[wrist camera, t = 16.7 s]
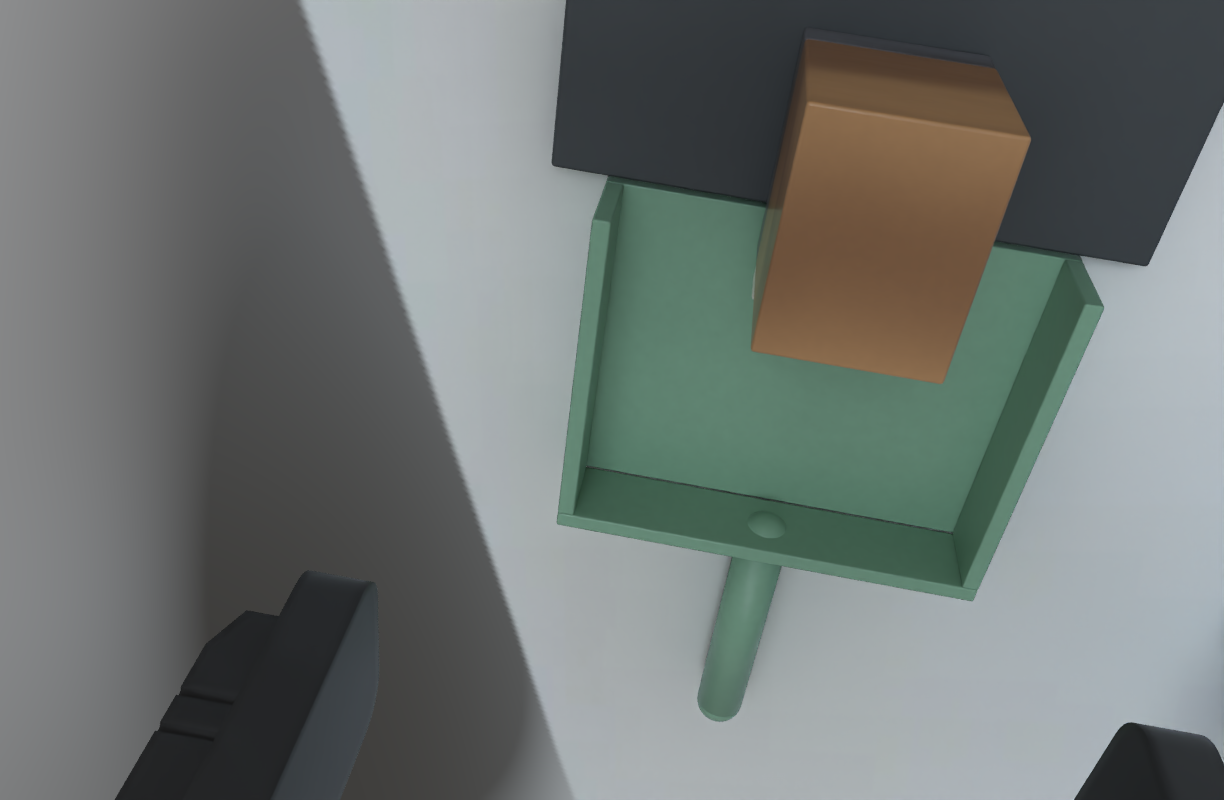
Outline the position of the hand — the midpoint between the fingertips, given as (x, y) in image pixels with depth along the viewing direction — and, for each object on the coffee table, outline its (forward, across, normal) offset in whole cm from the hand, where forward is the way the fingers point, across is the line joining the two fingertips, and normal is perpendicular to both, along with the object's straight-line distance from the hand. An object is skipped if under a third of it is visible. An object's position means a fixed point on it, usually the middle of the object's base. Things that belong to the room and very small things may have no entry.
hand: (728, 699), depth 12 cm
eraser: (+19, -3, +1) cm, 19 cm away
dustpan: (+20, -3, +13) cm, 23 cm away
